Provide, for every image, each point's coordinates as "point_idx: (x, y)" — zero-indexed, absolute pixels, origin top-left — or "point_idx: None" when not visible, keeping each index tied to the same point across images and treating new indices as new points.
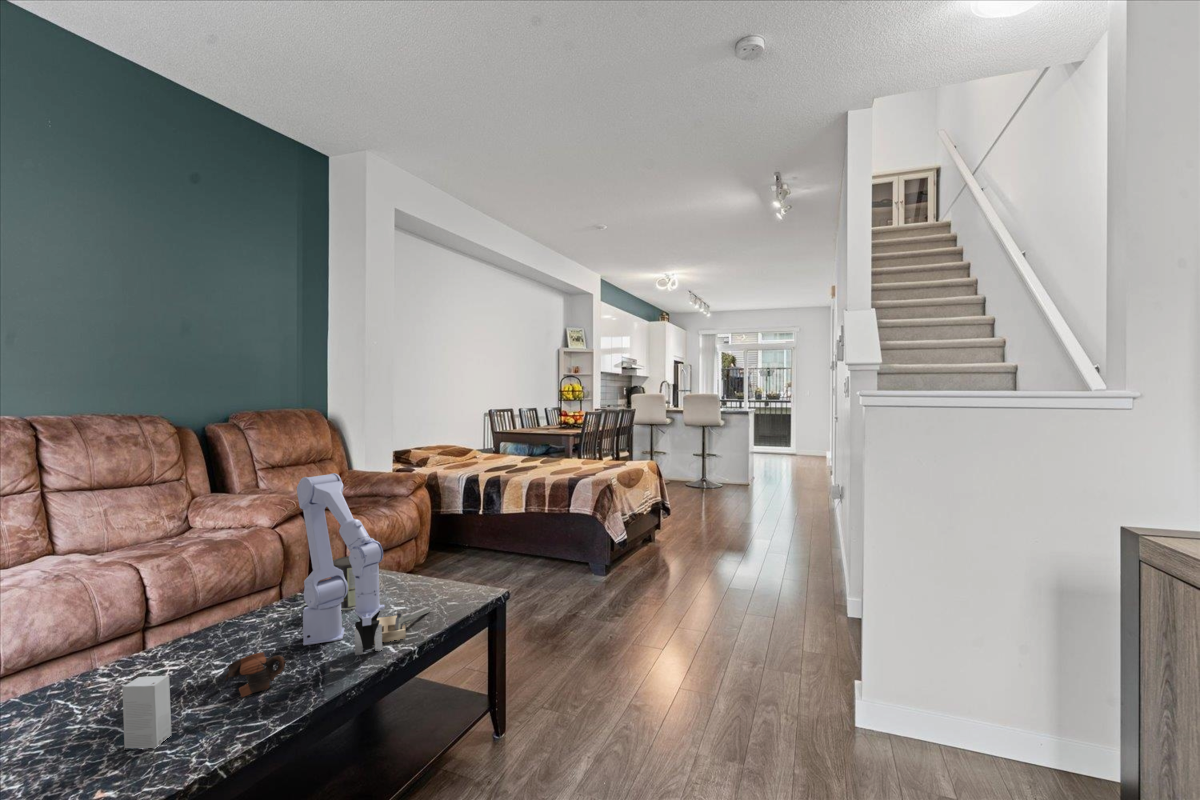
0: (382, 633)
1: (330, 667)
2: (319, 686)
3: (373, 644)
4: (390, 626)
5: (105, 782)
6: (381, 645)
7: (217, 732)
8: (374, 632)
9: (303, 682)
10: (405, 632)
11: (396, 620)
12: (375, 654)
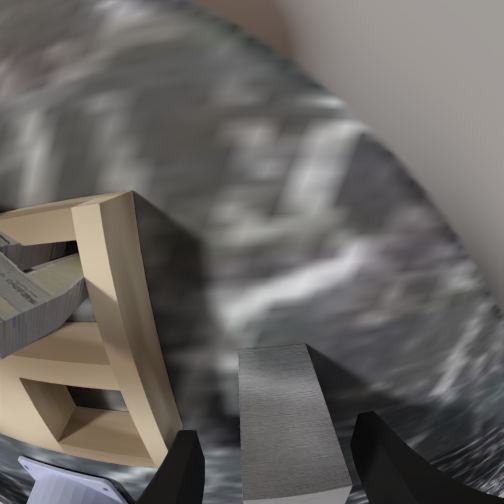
0: (146, 397)
1: None
2: (472, 445)
3: (384, 424)
4: None
5: None
6: (314, 371)
7: (487, 485)
8: (450, 480)
9: None
10: (111, 199)
11: (21, 339)
12: (340, 370)
